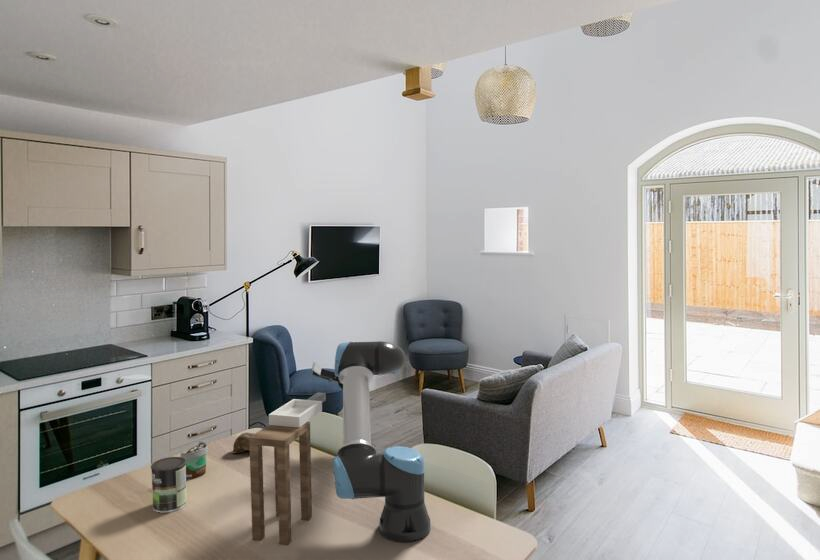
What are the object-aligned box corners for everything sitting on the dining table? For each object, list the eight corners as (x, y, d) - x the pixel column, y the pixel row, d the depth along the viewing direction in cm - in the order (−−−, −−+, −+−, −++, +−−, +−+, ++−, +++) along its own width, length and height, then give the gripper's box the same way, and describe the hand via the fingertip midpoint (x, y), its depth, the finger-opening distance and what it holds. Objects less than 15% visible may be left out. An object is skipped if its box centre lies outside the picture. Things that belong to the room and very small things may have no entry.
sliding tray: (308, 398, 185) (308, 389, 185) (335, 400, 183) (335, 391, 183) (268, 424, 159) (268, 414, 159) (299, 427, 157) (299, 417, 157)
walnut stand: (279, 512, 167) (277, 418, 165) (312, 516, 165) (310, 421, 162) (252, 540, 152) (249, 437, 150) (287, 545, 149) (284, 440, 147)
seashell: (265, 448, 220) (265, 429, 219) (254, 457, 211) (253, 437, 210) (241, 446, 222) (240, 427, 222) (228, 455, 213) (227, 435, 213)
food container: (196, 482, 189) (195, 454, 188) (181, 481, 190) (179, 453, 190) (215, 467, 201) (214, 441, 200) (201, 466, 202) (200, 440, 202)
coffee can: (160, 516, 165) (158, 472, 164) (147, 505, 172) (145, 463, 171) (193, 504, 173) (191, 462, 172) (179, 494, 180) (177, 453, 179)
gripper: (378, 394, 206) (362, 379, 187) (318, 390, 212) (296, 375, 193) (381, 375, 209) (365, 358, 190) (322, 371, 215) (301, 355, 197)
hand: (330, 367), depth 192 cm, fingers open, 13 cm apart
